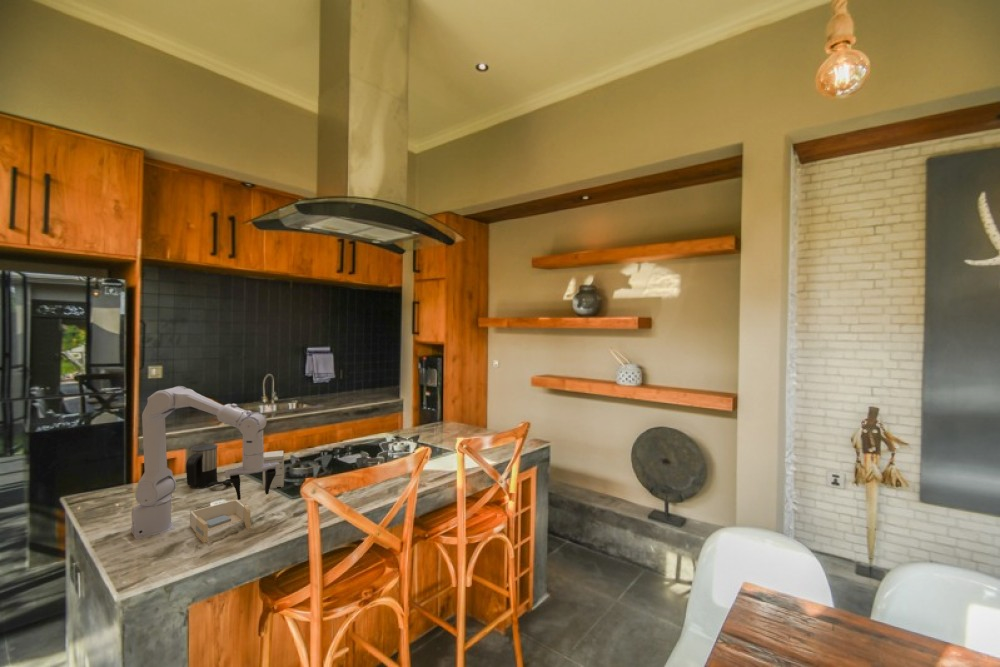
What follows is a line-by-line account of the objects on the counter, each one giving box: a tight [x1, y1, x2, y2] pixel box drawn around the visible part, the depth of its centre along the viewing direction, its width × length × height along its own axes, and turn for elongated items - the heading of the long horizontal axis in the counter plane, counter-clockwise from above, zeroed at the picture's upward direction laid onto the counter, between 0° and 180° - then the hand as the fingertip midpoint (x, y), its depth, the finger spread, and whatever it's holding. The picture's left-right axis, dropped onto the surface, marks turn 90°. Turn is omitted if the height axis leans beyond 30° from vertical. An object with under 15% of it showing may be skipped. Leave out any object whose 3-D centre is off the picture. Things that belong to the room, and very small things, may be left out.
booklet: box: [205, 515, 231, 528], centre depth 139 cm, size 6×4×1 cm
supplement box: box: [262, 450, 285, 491], centre depth 172 cm, size 7×7×13 cm
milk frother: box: [185, 443, 232, 489], centre depth 171 cm, size 14×16×15 cm
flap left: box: [195, 517, 209, 544], centre depth 129 cm, size 7×1×6 cm, turn 51°
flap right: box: [243, 503, 252, 530], centre depth 138 cm, size 7×1×6 cm, turn 37°
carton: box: [189, 499, 245, 533], centre depth 139 cm, size 13×8×5 cm, turn 138°
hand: (253, 496), depth 138 cm, fingers open, 7 cm apart
